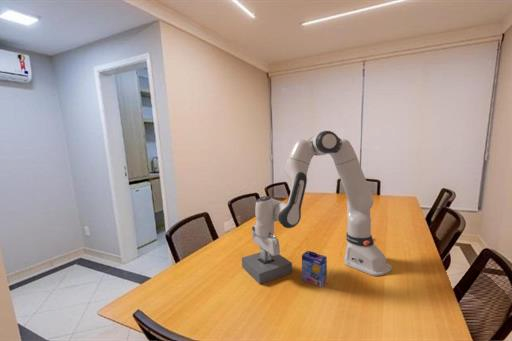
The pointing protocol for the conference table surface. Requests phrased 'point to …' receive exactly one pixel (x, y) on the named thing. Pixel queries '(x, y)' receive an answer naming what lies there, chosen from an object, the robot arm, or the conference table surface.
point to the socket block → (266, 267)
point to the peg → (264, 256)
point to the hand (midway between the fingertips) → (266, 257)
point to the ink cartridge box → (314, 268)
